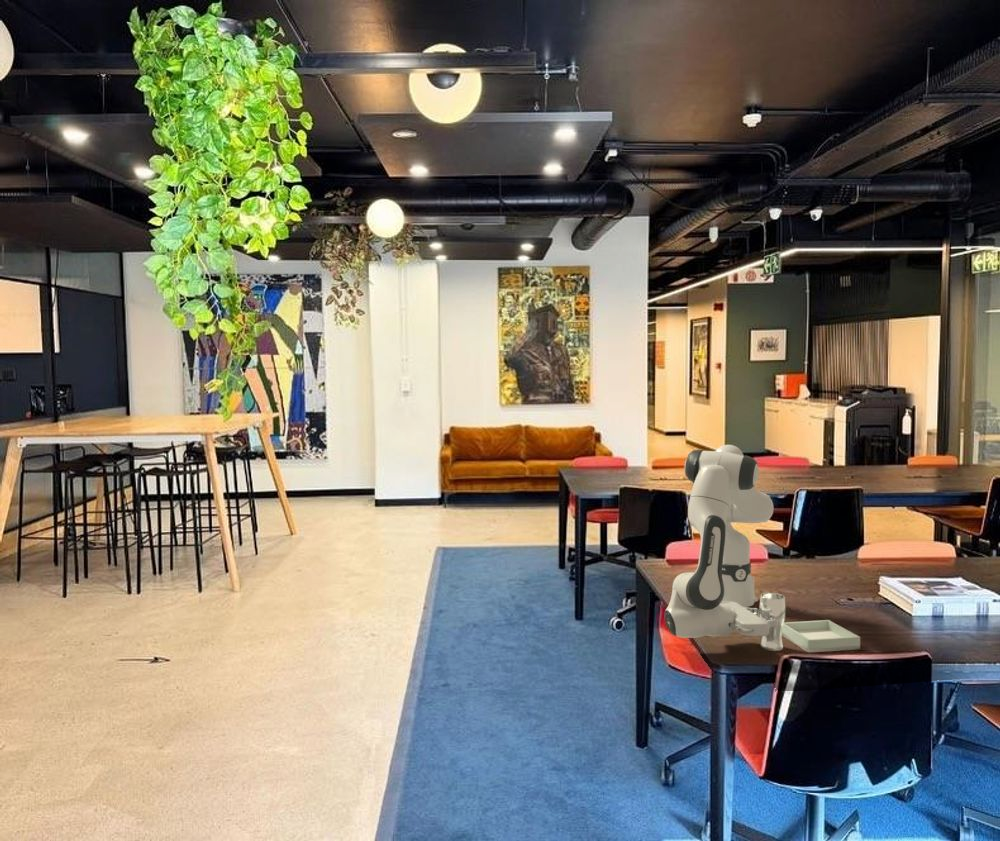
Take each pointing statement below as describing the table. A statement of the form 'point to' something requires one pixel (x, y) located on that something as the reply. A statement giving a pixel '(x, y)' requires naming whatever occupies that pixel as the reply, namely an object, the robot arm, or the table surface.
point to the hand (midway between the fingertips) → (767, 617)
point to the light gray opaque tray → (820, 636)
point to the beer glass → (772, 609)
